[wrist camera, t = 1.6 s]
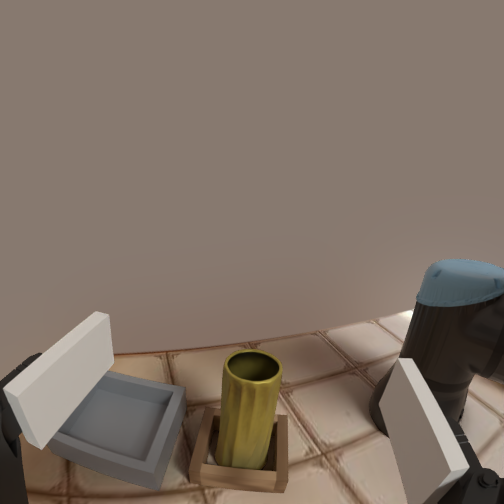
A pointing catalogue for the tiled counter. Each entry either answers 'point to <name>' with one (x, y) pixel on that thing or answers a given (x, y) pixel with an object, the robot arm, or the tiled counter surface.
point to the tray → (124, 429)
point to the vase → (247, 408)
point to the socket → (235, 476)
